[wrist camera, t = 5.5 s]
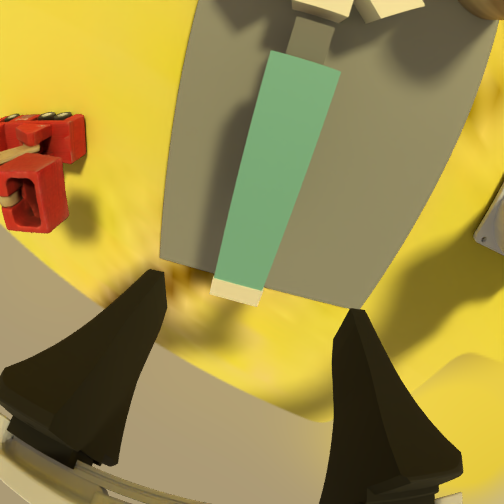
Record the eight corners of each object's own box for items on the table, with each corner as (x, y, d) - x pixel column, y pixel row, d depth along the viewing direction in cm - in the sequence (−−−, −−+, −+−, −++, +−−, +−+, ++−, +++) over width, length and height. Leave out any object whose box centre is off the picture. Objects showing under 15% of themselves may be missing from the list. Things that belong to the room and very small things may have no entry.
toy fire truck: (4, 113, 17) (-81, 164, 9) (133, 113, 17) (29, 177, 9) (8, 148, 19) (-70, 205, 11) (132, 160, 19) (44, 243, 11)
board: (500, -42, 5) (538, -49, 2) (357, 300, 24) (362, 343, 21) (256, -137, 5) (245, -170, 1) (165, 248, 23) (144, 287, 20)
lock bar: (335, 69, 10) (343, 72, 9) (261, 280, 18) (256, 306, 16) (273, 50, 10) (268, 49, 9) (217, 268, 18) (209, 294, 16)
